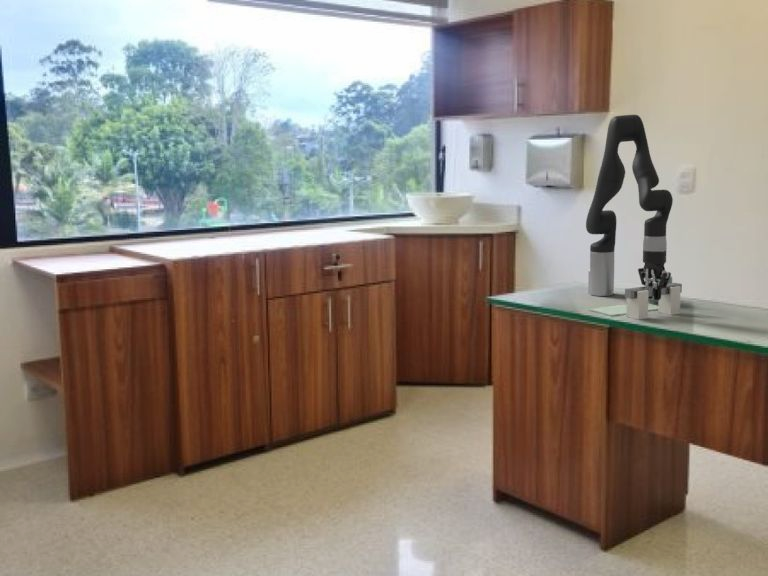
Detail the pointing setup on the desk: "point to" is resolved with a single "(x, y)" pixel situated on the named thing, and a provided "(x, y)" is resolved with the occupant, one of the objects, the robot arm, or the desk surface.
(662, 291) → the bar
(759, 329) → the desk surface
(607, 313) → the mat
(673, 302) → the rack
